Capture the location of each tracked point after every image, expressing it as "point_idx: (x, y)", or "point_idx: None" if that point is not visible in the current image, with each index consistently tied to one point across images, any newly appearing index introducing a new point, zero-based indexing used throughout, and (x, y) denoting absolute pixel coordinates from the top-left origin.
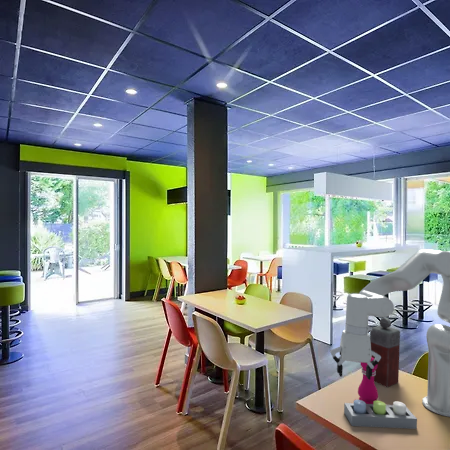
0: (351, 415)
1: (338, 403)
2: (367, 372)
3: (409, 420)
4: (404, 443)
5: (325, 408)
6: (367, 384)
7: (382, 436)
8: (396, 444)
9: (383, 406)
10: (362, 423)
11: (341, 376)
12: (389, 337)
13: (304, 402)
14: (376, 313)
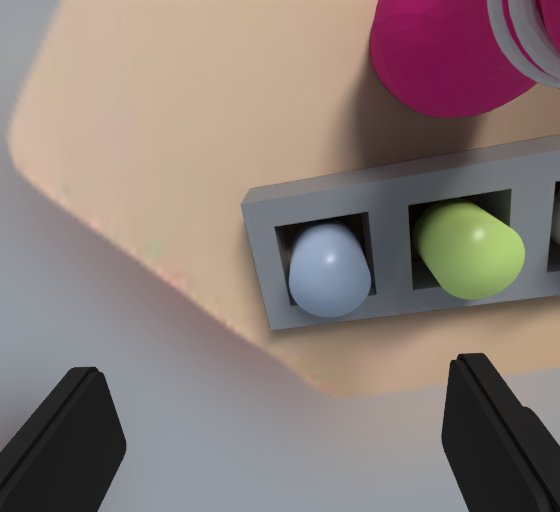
0: (268, 319)
1: (223, 84)
2: (476, 473)
3: None
4: None
5: (144, 172)
6: (482, 76)
7: (400, 344)
8: (442, 379)
9: (490, 294)
10: None
11: (119, 452)
12: None
13: (15, 135)
14: None
